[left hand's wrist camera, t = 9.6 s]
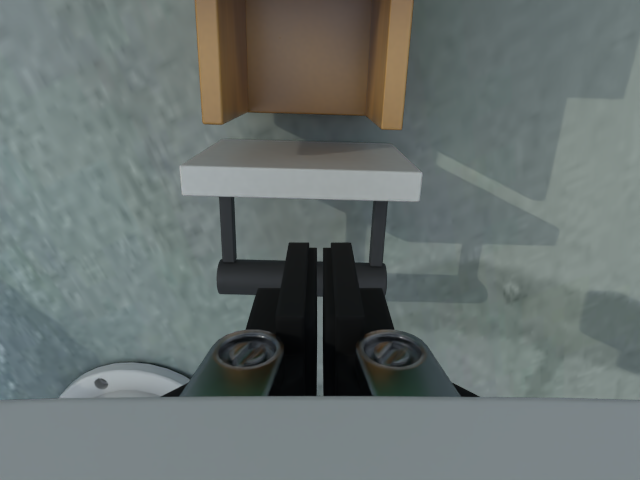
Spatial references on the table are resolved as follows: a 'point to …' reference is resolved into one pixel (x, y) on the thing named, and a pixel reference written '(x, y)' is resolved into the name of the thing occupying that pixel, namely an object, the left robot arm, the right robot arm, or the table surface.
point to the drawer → (302, 98)
